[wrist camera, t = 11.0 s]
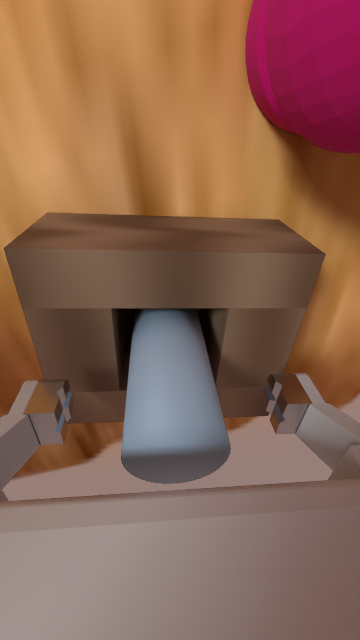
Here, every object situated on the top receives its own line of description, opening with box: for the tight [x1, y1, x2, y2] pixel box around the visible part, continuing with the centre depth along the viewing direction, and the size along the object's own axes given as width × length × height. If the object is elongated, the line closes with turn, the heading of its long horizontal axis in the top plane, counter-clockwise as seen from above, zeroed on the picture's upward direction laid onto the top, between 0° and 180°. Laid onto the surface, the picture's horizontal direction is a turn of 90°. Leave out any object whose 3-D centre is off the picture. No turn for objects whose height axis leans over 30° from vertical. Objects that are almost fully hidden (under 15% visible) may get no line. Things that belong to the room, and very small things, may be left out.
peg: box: [121, 308, 230, 484], centre depth 13 cm, size 4×4×10 cm
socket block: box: [4, 213, 326, 424], centre depth 15 cm, size 12×10×5 cm
